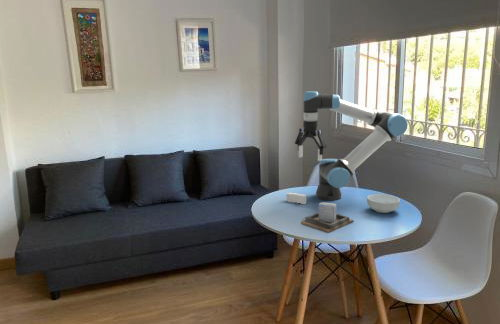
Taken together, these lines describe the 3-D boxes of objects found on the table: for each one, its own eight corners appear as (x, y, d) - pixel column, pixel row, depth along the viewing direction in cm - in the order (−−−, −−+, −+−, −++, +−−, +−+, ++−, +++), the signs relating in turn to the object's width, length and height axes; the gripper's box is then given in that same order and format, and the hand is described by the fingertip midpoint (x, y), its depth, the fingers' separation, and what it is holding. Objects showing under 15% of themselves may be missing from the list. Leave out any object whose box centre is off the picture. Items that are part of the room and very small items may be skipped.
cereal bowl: (401, 217, 208) (402, 203, 206) (367, 215, 211) (368, 202, 209) (396, 206, 224) (397, 194, 222) (365, 205, 227) (366, 193, 226)
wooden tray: (325, 213, 215) (326, 208, 214) (353, 221, 202) (353, 216, 202) (300, 223, 202) (301, 218, 201) (328, 232, 189) (328, 227, 189)
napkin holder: (281, 201, 238) (281, 192, 237) (297, 198, 243) (297, 189, 242) (295, 208, 225) (296, 198, 224) (312, 205, 230) (312, 195, 229)
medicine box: (336, 220, 202) (336, 203, 200) (334, 223, 198) (334, 206, 196) (320, 218, 205) (321, 201, 203) (318, 221, 201) (318, 204, 200)
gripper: (288, 119, 225) (288, 156, 230) (324, 122, 207) (323, 163, 212) (297, 118, 230) (297, 154, 235) (333, 121, 212) (332, 160, 217)
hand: (310, 158), depth 223 cm, fingers open, 13 cm apart
